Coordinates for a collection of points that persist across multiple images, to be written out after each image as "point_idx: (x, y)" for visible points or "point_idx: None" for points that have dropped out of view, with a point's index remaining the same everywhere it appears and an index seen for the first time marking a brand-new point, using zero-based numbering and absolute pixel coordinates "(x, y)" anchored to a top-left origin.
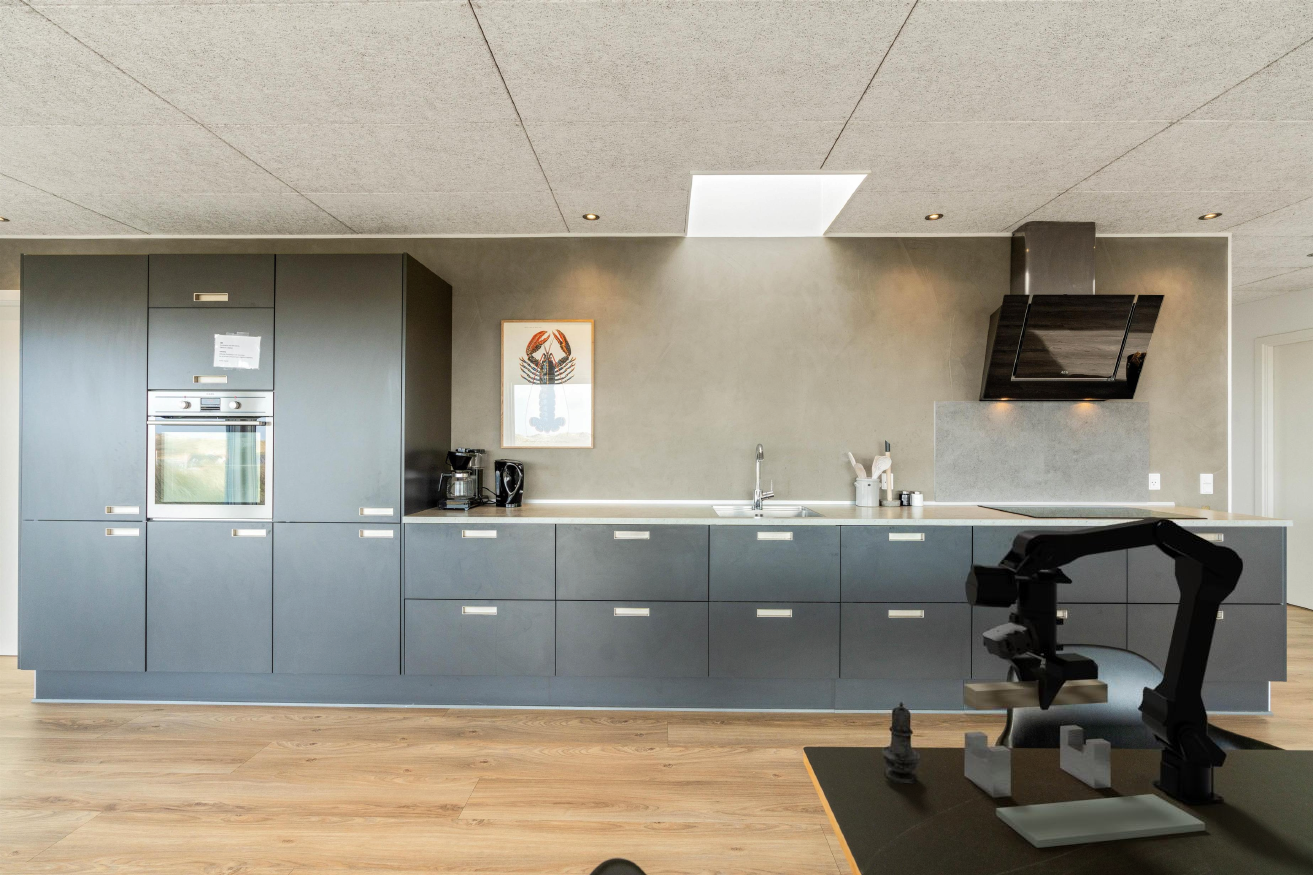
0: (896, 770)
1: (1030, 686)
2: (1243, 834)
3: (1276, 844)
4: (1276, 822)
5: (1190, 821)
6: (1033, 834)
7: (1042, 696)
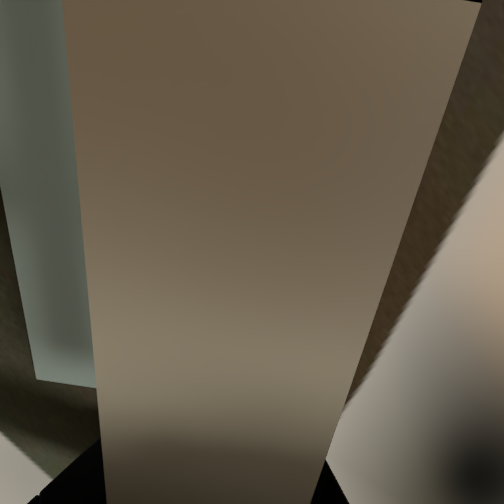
0: None
1: (151, 501)
2: (34, 404)
3: (9, 416)
4: (62, 465)
5: (42, 364)
6: None
7: (88, 451)
